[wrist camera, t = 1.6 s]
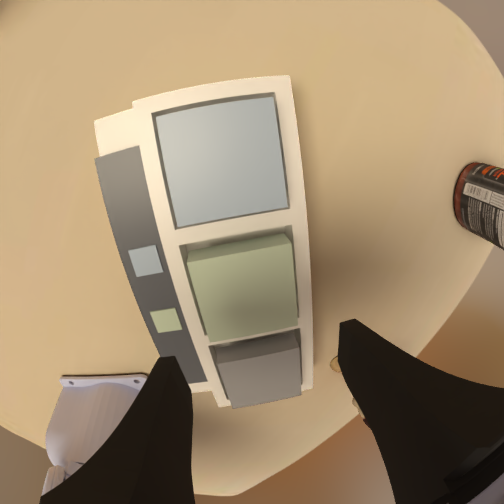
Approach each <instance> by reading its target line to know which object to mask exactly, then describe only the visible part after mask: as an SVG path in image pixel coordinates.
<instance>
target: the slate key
mask: <svg viewBox="0 0 504 504" xmlns="http://www.w3.org/2000/svg"><path fill="white" fill-rule="evenodd" d="M156 122H157V128H158V134H159V139H160V145H161V150H162V156H163V161H164V166H165V171H166V176H167V181H168V186H169V190H170V195H171V200H172V204H173V208H174V213H175V217H176V221H177V226H178V227H181V226H186V225H191V224H196V223H202V222H207V221H212V220H217V219H223V218H228V217H233V216H239V215H244V214H250V213H256V212H262V211H267V210H273V209H279V208H285V207H288V205H287V196H286V188H285V179H284V171H283V163H282V155H281V148H280V140H279V133H278V126H277V119H276V112H275V106H274V99H273V97H268V98H258V99H249V100H241V101H234V102H227V103H221V104H215V105H209V106H203V107H198V108H193V109H188V110H183V111H179V112H174V113H170V114H166V115H161V116H157V117H156Z"/></svg>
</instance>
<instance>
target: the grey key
mask: <svg viewBox="0 0 504 504" xmlns="http://www.w3.org/2000/svg"><path fill="white" fill-rule="evenodd" d="M216 356H217V366H218V369H219V371H220V374H221V377H222V380H223V383H224V386H225V389H226V392H227V394H228V397H229V400H230V403H231V405H232V408H233V409H235V408H241V407H247V406H253V405H258V404H263V403H268V402H273V401H278V400H282V399H287V398H291V397H295V396H299V395H301V371H300V351H299V345H298V343H297V341H296V338H295V336H294V333H290V334H286V335H281V336H276V337H272V338H267V339H262V340H257V341H252V342H247V343H241V344H236V345H230V346H225V347H219V348H216Z"/></svg>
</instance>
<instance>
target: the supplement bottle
mask: <svg viewBox="0 0 504 504" xmlns="http://www.w3.org/2000/svg"><path fill="white" fill-rule="evenodd" d="M454 202H455V203H454V205H455V212H456V216H457V219H458V221H459V222H460V224H461V225H462V226H463V227H464V228H466V229H468V230H469V231H471V232H473V233H474V234H476V235H478V236H480V237H482V238H484V239H485V240H487V241H489V242H491V243H493V244H494V245H496V246H498V247H499V248H501V249H503V250H504V169H502V168H499V167H495V166H491V165H487V164H484V163H472V164H470V165H468V166H467V167H466V168H465V169H464V170H463V172H462V173H461V175H460V177H459V179H458V182H457V185H456V190H455V196H454Z"/></svg>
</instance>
